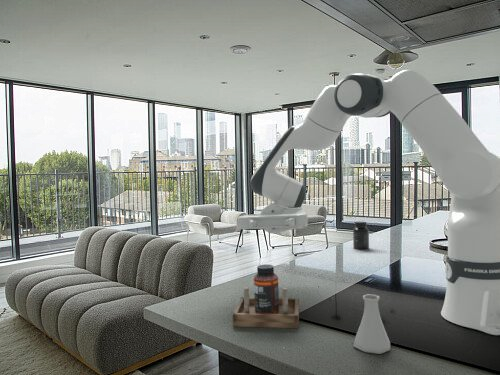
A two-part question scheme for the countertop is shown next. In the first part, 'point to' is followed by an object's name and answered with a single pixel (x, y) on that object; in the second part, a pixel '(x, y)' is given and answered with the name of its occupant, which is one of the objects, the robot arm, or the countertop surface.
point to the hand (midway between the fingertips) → (270, 223)
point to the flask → (372, 328)
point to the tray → (282, 319)
